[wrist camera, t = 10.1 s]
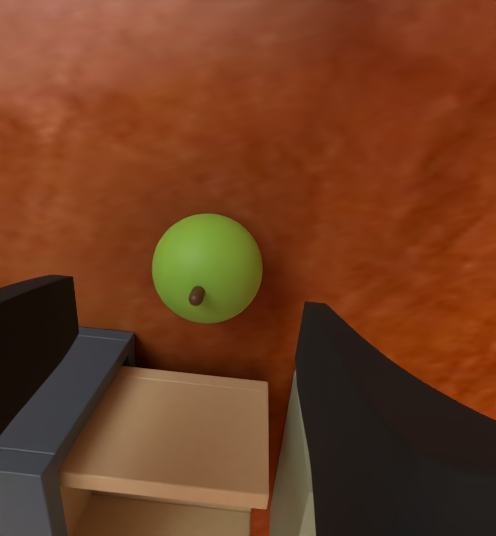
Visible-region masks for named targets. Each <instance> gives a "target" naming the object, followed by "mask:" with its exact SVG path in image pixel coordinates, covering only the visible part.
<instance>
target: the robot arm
mask: <svg viewBox="0 0 496 536" xmlns="http://www.w3.org/2000/svg"><path fill="white" fill-rule="evenodd" d="M78 334H79V327H78V318H77V309H76V300H75V291H74V282H73V277H71V276H61V275H48V276H42V277H38V278H34V279H30V280H26V281H22V282H19V283H15V284H12V285H8V286H5V287H1V288H0V435H1V434H2V433H3V431H4V430H5V429H6V428H7V426H8V425H9V424H10V423H11V421H12V420H13V419H14V418H15V416H16V415H17V414H18V413H19V412H20V410H21V409H22V408H23V407H24V406H25V405H26V403H27V402H28V401H29V400H30V399H31V397H32V396H33V395H34V394H35V393H36V392H37V390H38V389H39V388H40V387H41V386H42V385H43V383H44V382H45V381H46V380H47V379H48V377H49V376H50V375H51V374H52V373H53V371H54V370H55V369H56V368H57V366H58V365H59V364H60V363H61V361H62V360H63V359H64V357H65V356H66V354H67V353H68V351H69V350H70V348H71V346H72V345H73V343H74V341H75V339H76V338H77V336H78ZM295 361H296V383H297V390H298V396H299V402H300V408H301V413H302V419H303V424H304V430H305V435H306V441H307V446H308V452H309V459H310V466H311V476H312V488H313V501H314V515H315V530H316V536H496V420H494V419H491V418H489V417H487V416H485V415H483V414H481V413H479V412H477V411H475V410H473V409H471V408H469V407H467V406H465V405H463V404H461V403H459V402H457V401H455V400H454V399H452V398H450V397H448V396H447V395H445V394H443V393H441V392H439V391H438V390H436V389H434V388H432V387H431V386H429V385H427V384H426V383H424V382H422V381H421V380H419V379H418V378H416V377H415V376H413V375H412V374H410V373H409V372H407V371H406V370H404V369H403V368H401V367H400V366H398V365H397V364H395V363H394V362H393V361H391V360H390V359H388V358H387V357H386V356H385V355H383V354H382V353H381V352H379V351H378V350H377V349H376V348H374V347H373V346H372V345H371V344H370V343H368V342H367V341H366V340H365V339H364V338H362V337H361V336H360V335H359V334H358V333H357V332H356V331H355V330H353V329H352V328H351V327H350V326H349V325H348V324H347V323H346V322H345V321H344V320H343V319H342V318H341V317H340V316H338V315H337V314H336V313H335V312H334V311H333V310H332V309H331V308H330V307H329V306H327V305H326V304H324V303H315V302H305V305H304V310H303V316H302V322H301V327H300V333H299V339H298V345H297V350H296V356H295Z"/></svg>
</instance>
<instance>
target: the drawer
mask: <svg viewBox="0 0 496 536" xmlns="http://www.w3.org/2000/svg"><path fill="white" fill-rule="evenodd" d="M57 472H58V478H59V484H60V490H61V497H62V503H63V509H64V515H65V521H66V527H67V533H68V536H250V519H251V508H256V509H267V505H268V499H269V415H268V382H265V381H256V380H247V379H238V378H228V377H219V376H210V375H201V374H192V373H183V372H173V371H164V370H155V369H146V368H137V367H127V366H121V367H120V369H119V371H118V372H117V374H116V375H115V377H114V379H113V380H112V382H111V384H110V385H109V387H108V389H107V390H106V392H105V393H104V395H103V397H102V398H101V400H100V402H99V403H98V405H97V407H96V408H95V410H94V411H93V413H92V415H91V416H90V418H89V420H88V421H87V423H86V425H85V426H84V428H83V429H82V431H81V433H80V434H79V436H78V438H77V439H76V441H75V442H74V444H73V446H72V447H71V449H70V451H69V452H68V454H67V456H66V457H65V459H64V460H63V462H62V464H61V465H60V467H59V469H57ZM269 521H270V536H316V530H315V515H314V501H313V488H312V476H311V466H310V459H309V452H308V446H307V441H306V435H305V430H304V424H303V419H302V413H301V408H300V402H299V396H298V390H297V383H296V370H295V371H294V377H293V382H292V388H291V394H290V399H289V405H288V411H287V416H286V422H285V427H284V433H283V439H282V444H281V450H280V455H279V461H278V467H277V472H276V478H275V484H274V489H273V495H272V500H271V506H270V512H269Z"/></svg>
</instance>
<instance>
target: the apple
mask: <svg viewBox="0 0 496 536" xmlns="http://www.w3.org/2000/svg"><path fill="white" fill-rule="evenodd" d="M262 273H263V264H262V257H261V253H260V250H259V248H258V245H257V243H256V242H255V240H254V238H253V237H252V235H251V234H250V233H249V232H248V231H247V230H246V229H245V228H244V227H243V226H242V225H240V224H239V223H238V222H236V221H234V220H232V219H230V218H228V217H225V216H222V215H218V214H197V215H193V216H189V217H187V218H184V219H182V220H180V221H179V222H177V223H176V224H174V225H173V226H172V227H170V228H169V229H168V230H167V231H166V233H165V234H164V235H163V236H162V238H161V239H160V241H159V242H158V245H157V247H156V249H155V252H154V256H153V261H152V276H153V282H154V285H155V288H156V290H157V292H158V294H159V296H160V298H161V300H162V301H163V302H164V303H165V305H166V306H167V307H168V308H169V309H170V310H172V311H173V312H174V313H175V314H177V315H179V316H180V317H182V318H184V319H187V320H189V321H193V322H197V323H206V324H210V323H218V322H222V321H225V320H228V319H230V318H232V317H234V316H236V315H238V314H239V313H241V312H242V311H243V310H244V309H245V308H246V307H247V306H248V305H249V304H250V303H251V302H252V300H253V299H254V297H255V296H256V294H257V292H258V289H259V287H260V284H261V280H262Z"/></svg>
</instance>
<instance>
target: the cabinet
mask: <svg viewBox="0 0 496 536" xmlns="http://www.w3.org/2000/svg"><path fill="white" fill-rule="evenodd" d="M121 366H127V367H135V340H134V333H132V332H123V331H114V330H105V329H95V328H86V327H79V334H78V336H77V338H76V339H75V341H74V343H73V345H72V346H71V348H70V350H69V351H68V353H67V354H66V356H65V357H64V359H63V360H62V361H61V363H60V364H59V365H58V366H57V368H56V369H55V370H54V371H53V373H52V374H51V375H50V376H49V377H48V379H47V380H46V381H45V382H44V383H43V385H42V386H41V387H40V388H39V389H38V390H37V392H36V393H35V394H34V395H33V396H32V397H31V399H30V400H29V401H28V402H27V403H26V405H25V406H24V407H23V408H22V409H21V410H20V412H19V413H18V414H17V415H16V416H15V418H14V419H13V420H12V421H11V423H10V424H9V425H8V426H7V428H6V429H5V430H4V431H3V433H2V434H1V435H0V536H68V533H67V527H66V521H65V515H64V509H63V503H62V497H61V490H60V484H59V478H58V472H57V469H59V467H60V465H61V464H62V462H63V460H64V459H65V457H66V456H67V454H68V452H69V451H70V449H71V447H72V446H73V444H74V442H75V441H76V439H77V438H78V436H79V434H80V433H81V431H82V429H83V428H84V426H85V425H86V423H87V421H88V420H89V418H90V416H91V415H92V413H93V411H94V410H95V408H96V407H97V405H98V403H99V402H100V400H101V398H102V397H103V395H104V393H105V392H106V390H107V389H108V387H109V385H110V384H111V382H112V380H113V379H114V377H115V375H116V374H117V372H118V371H119V369H120V367H121Z"/></svg>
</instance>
